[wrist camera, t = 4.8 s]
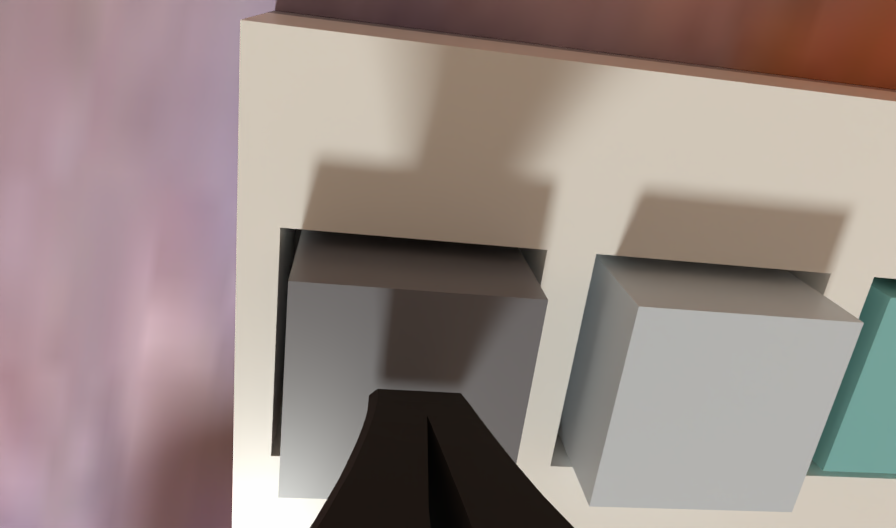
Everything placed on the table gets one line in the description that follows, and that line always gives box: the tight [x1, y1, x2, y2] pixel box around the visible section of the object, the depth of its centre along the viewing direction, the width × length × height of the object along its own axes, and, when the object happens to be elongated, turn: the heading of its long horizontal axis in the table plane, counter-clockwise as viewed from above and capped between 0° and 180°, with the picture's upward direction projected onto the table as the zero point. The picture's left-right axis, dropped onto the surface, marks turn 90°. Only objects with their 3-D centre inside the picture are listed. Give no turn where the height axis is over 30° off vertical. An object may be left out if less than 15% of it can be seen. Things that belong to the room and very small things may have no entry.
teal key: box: [812, 277, 896, 474], centre depth 16 cm, size 4×4×3 cm
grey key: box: [558, 254, 864, 512], centre depth 14 cm, size 4×4×3 cm
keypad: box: [232, 11, 896, 528], centre depth 15 cm, size 17×11×4 cm, turn 83°
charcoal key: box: [278, 229, 548, 499], centre depth 13 cm, size 4×4×3 cm
